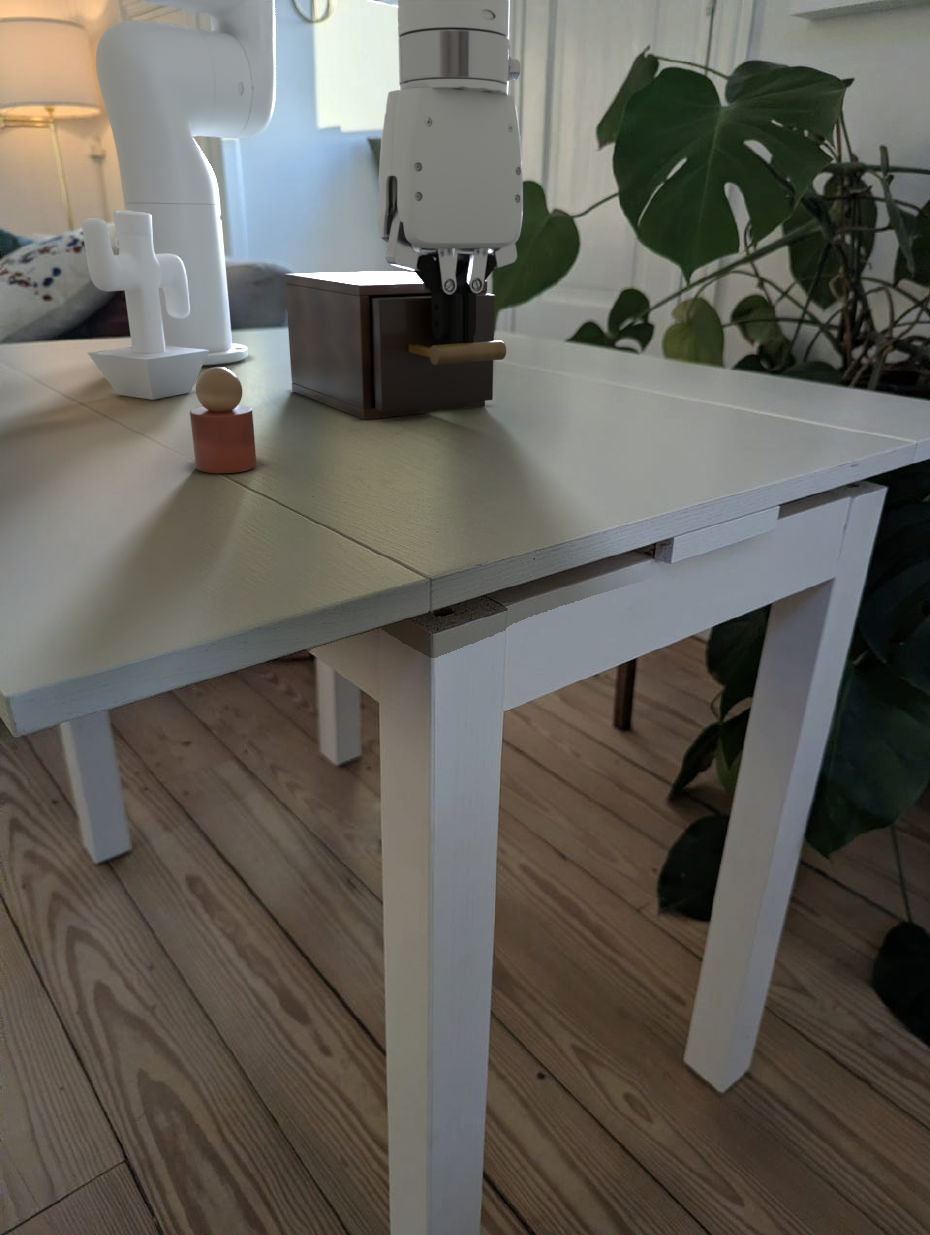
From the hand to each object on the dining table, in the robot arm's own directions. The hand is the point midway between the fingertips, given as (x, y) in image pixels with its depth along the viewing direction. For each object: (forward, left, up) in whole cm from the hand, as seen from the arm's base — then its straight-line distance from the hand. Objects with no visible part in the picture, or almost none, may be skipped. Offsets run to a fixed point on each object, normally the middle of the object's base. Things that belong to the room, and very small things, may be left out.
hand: (453, 347), depth 70 cm
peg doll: (+5, -20, -6) cm, 21 cm away
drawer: (-6, 0, -5) cm, 8 cm away
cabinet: (-11, 0, -6) cm, 13 cm away
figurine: (-23, -17, -6) cm, 30 cm away
